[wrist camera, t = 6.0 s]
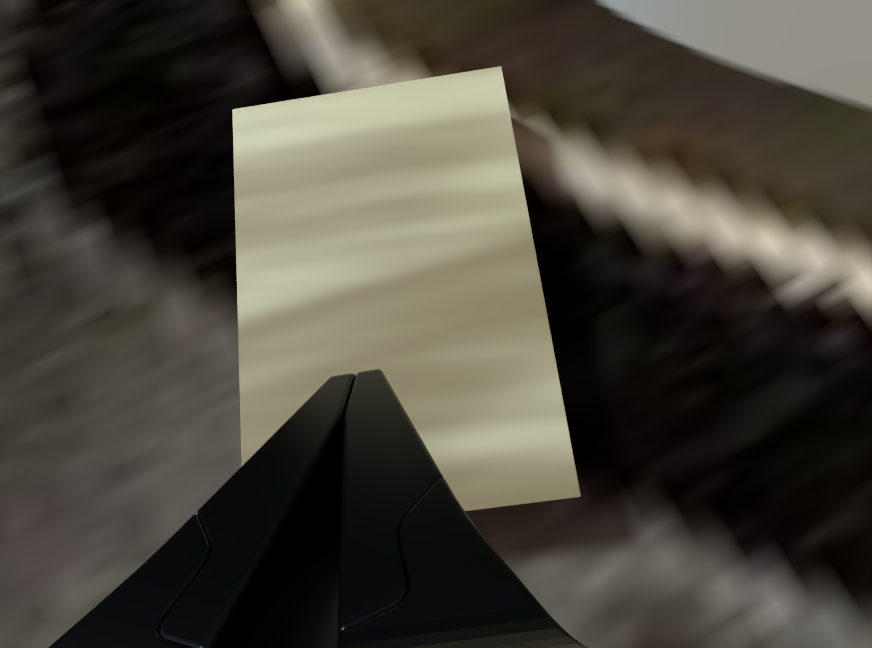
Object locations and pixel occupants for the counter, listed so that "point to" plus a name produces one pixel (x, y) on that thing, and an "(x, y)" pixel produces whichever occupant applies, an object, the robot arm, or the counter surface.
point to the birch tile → (401, 276)
